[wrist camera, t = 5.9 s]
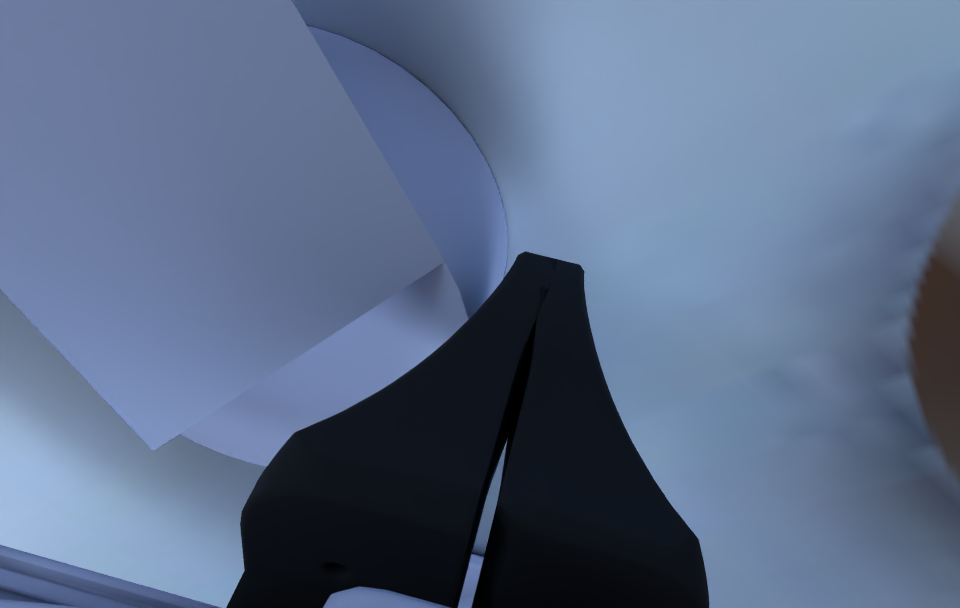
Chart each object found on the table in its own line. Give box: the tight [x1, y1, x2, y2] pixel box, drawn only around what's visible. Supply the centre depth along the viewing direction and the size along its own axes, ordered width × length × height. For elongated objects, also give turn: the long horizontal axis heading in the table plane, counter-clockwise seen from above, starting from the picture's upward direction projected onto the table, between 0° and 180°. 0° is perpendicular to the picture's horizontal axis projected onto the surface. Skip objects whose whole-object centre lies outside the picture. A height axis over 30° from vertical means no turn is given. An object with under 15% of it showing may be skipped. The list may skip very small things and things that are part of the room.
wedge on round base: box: [0, 0, 508, 467], centre depth 15 cm, size 9×7×13 cm
